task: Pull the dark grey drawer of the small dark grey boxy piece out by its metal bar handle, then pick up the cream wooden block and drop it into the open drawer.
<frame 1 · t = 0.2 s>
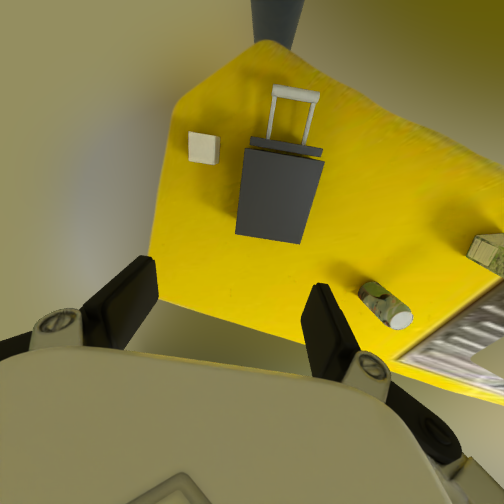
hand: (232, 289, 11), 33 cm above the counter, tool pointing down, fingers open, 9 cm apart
dark grey drawer: (280, 163, 34), point 4 cm above the counter, slide at 0.5 cm
dark grey boxy piece: (273, 192, 40), on the counter
syrup box: (481, 244, 44), on the counter
beverage can: (369, 287, 51), on the counter
block: (208, 148, 37), on the counter
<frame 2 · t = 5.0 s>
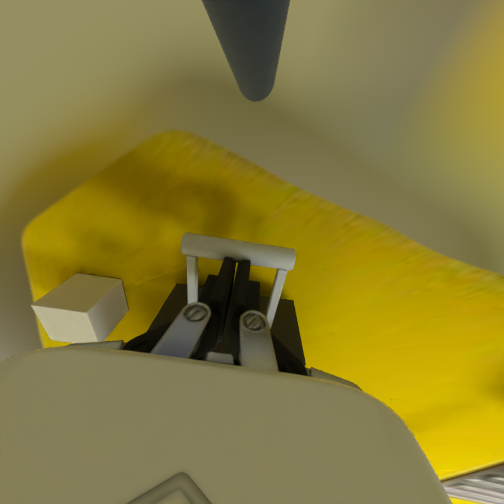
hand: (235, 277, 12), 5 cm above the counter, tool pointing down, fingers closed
dark grey drawer: (227, 341, 17), point 4 cm above the counter, slide at 1.1 cm, touching gripper
block: (104, 292, 21), on the counter
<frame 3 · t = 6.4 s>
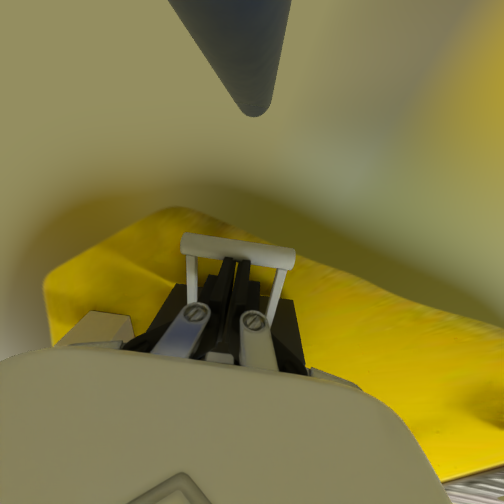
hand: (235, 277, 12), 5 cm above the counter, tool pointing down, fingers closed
dark grey drawer: (227, 341, 17), point 4 cm above the counter, slide at 6.5 cm, touching gripper
block: (114, 326, 23), on the counter
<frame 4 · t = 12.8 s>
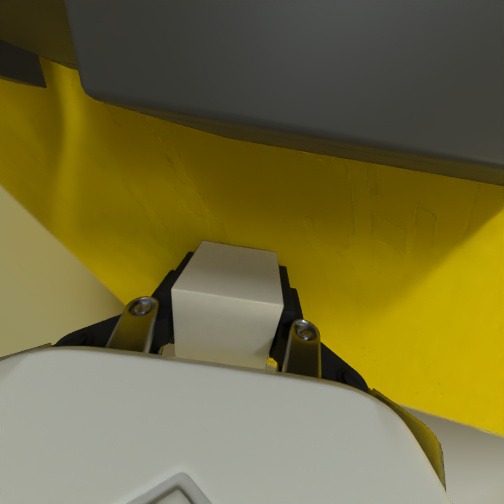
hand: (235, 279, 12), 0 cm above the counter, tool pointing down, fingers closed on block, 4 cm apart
block: (235, 276, 13), on the counter, touching gripper
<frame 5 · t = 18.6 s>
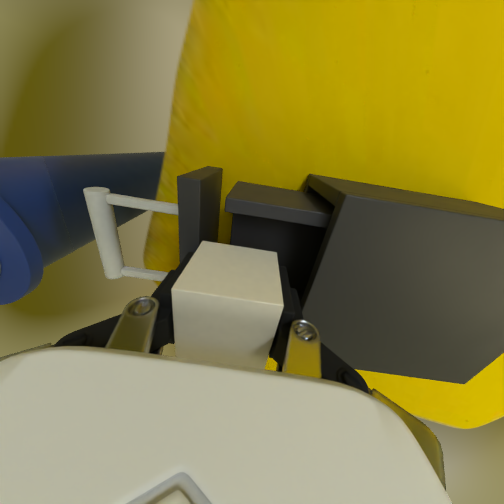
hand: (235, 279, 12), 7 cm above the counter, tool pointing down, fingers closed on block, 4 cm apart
dark grey drawer: (234, 253, 15), point 4 cm above the counter, slide at 7.0 cm, touching gripper
dark grey boxy piece: (362, 253, 19), on the counter
block: (235, 276, 13), point 7 cm above the counter, touching gripper
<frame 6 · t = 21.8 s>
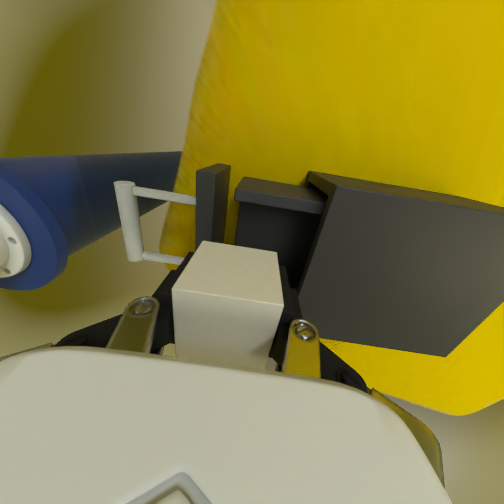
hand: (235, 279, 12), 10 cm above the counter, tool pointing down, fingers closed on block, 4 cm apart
dark grey drawer: (240, 240, 17), point 4 cm above the counter, slide at 7.1 cm
dark grey boxy piece: (357, 242, 21), on the counter
block: (235, 276, 13), point 10 cm above the counter, touching gripper
when the fingers open (10 cm above the counter, at t = 30.7 s): block drops 8 cm, resting on dark grey drawer.
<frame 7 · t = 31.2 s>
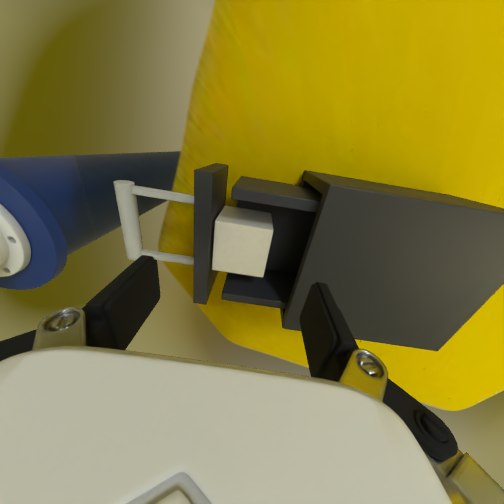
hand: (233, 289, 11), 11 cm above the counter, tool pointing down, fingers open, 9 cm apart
dark grey drawer: (238, 238, 18), point 4 cm above the counter, slide at 7.1 cm, touching block
dark grey boxy piece: (352, 240, 22), on the counter
block: (245, 230, 20), point 2 cm above the counter, touching dark grey drawer
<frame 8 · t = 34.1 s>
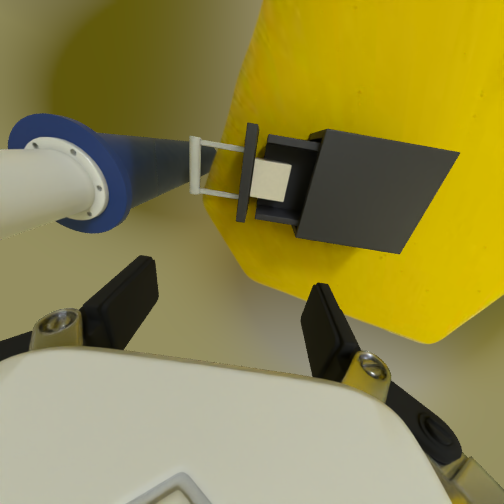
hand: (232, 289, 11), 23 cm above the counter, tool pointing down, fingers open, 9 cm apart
dark grey drawer: (265, 178, 27), point 4 cm above the counter, slide at 7.1 cm, touching block
dark grey boxy piece: (343, 188, 30), on the counter
block: (268, 176, 28), point 2 cm above the counter, touching dark grey drawer
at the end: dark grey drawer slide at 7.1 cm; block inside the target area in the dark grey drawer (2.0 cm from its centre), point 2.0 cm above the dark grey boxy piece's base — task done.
